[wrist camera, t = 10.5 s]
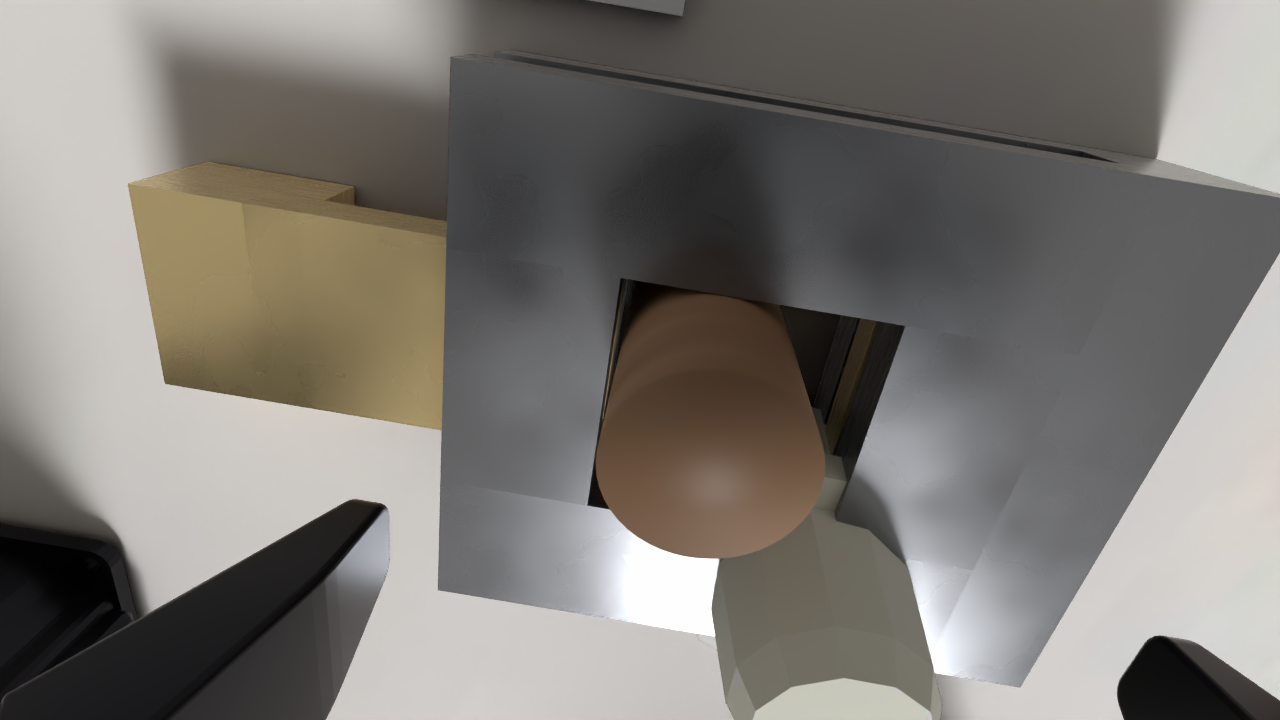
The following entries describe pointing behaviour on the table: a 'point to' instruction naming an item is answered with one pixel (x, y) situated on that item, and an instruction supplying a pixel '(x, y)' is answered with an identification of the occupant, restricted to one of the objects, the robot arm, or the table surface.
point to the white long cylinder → (822, 624)
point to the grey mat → (651, 5)
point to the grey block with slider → (744, 268)
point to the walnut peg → (708, 426)
